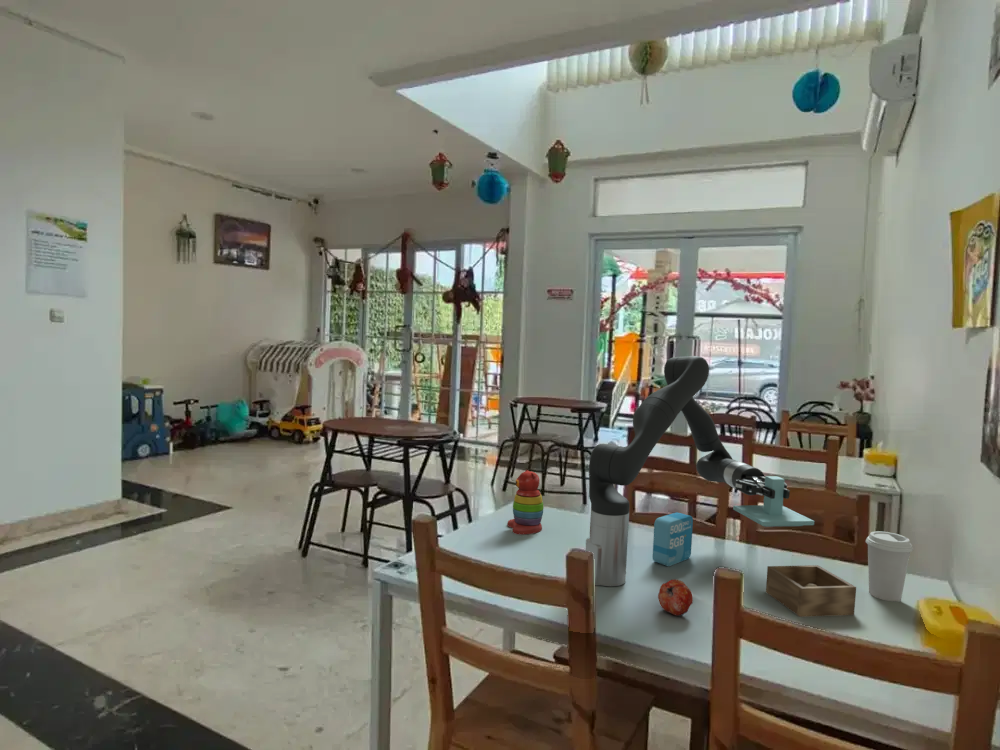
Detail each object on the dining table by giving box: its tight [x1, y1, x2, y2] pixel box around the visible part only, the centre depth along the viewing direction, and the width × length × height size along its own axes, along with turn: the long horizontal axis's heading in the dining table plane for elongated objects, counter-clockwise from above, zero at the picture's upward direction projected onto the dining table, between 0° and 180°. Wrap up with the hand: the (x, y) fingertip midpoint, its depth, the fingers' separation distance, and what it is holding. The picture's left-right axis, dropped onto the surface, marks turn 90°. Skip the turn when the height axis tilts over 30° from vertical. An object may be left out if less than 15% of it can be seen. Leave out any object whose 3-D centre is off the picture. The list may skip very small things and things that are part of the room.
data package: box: [652, 512, 694, 567], centre depth 171 cm, size 12×4×12 cm, turn 132°
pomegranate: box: [657, 578, 694, 617], centre depth 139 cm, size 7×7×10 cm
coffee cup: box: [865, 530, 914, 603], centre depth 150 cm, size 10×10×15 cm
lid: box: [732, 475, 815, 528], centre depth 159 cm, size 14×14×11 cm
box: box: [765, 564, 857, 618], centre depth 144 cm, size 13×13×7 cm
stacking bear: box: [506, 469, 545, 536], centre depth 193 cm, size 11×10×18 cm
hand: (780, 494), depth 156 cm, fingers closed on lid, 3 cm apart
